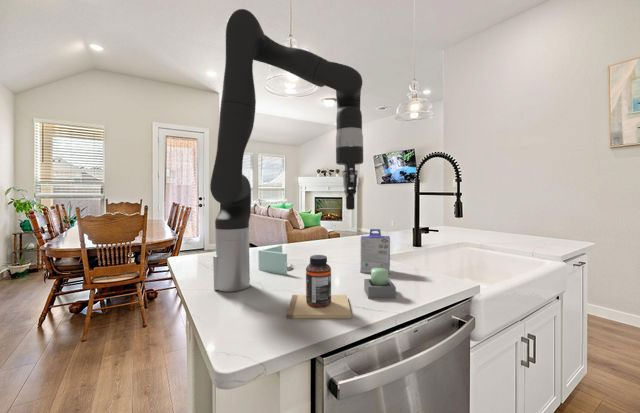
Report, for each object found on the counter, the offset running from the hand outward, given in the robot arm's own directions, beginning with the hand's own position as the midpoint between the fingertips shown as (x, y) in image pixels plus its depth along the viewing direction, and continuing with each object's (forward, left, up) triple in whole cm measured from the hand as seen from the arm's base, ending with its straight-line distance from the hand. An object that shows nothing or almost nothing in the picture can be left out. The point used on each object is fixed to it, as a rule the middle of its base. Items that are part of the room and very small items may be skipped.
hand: (350, 209), depth 80 cm
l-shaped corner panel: (-22, +22, -23) cm, 39 cm away
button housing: (+7, -4, -23) cm, 24 cm away
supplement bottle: (-9, -13, -22) cm, 27 cm away
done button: (+7, -4, -19) cm, 21 cm away
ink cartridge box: (+10, +18, -23) cm, 31 cm away
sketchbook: (-9, -13, -23) cm, 28 cm away
